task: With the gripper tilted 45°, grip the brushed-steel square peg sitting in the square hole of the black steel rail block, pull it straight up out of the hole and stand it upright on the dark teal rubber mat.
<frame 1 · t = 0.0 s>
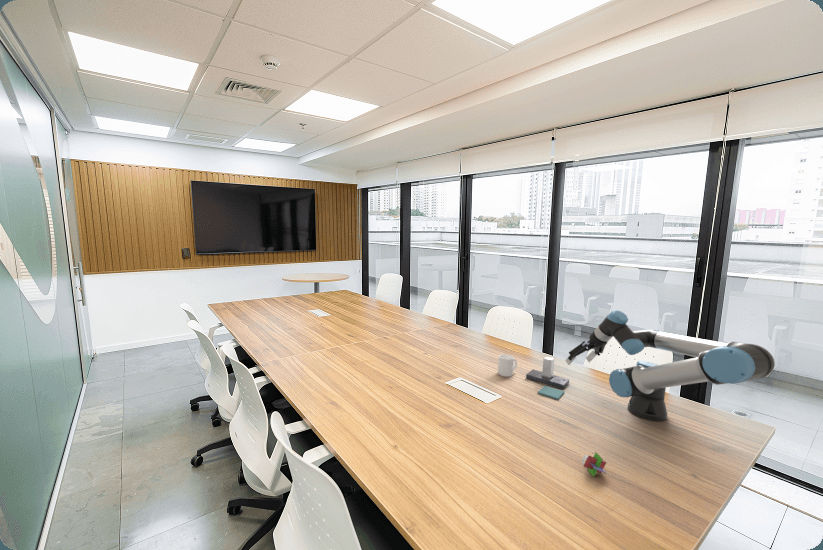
hand: (577, 361, 182), 15 cm above the table, tool tilted 35°, fingers open, 13 cm apart
geometric puzzle: (594, 473, 119), on the table
steel peg: (548, 369, 193), in the rail block
mug: (507, 374, 202), on the table
teal mat: (550, 393, 178), on the table
rail block: (547, 381, 194), on the table
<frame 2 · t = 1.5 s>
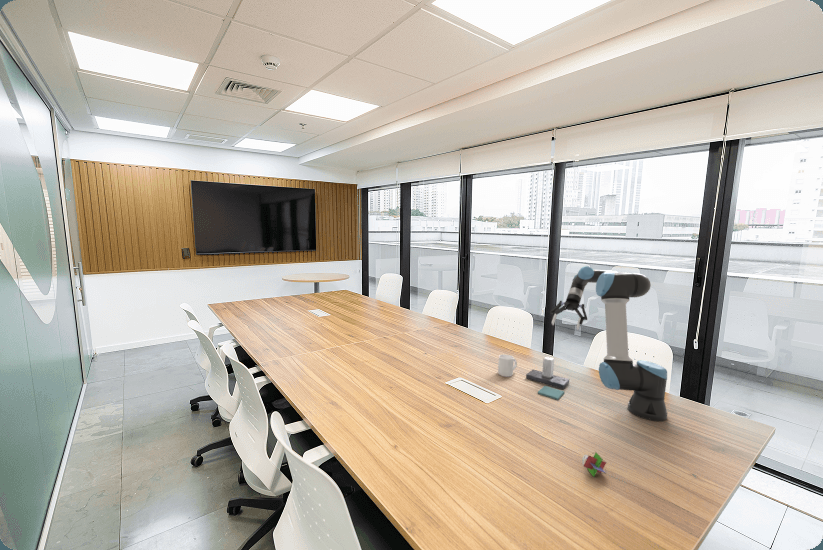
hand: (564, 326, 202), 28 cm above the table, tool tilted 45°, fingers open, 13 cm apart
nothing on the table moved.
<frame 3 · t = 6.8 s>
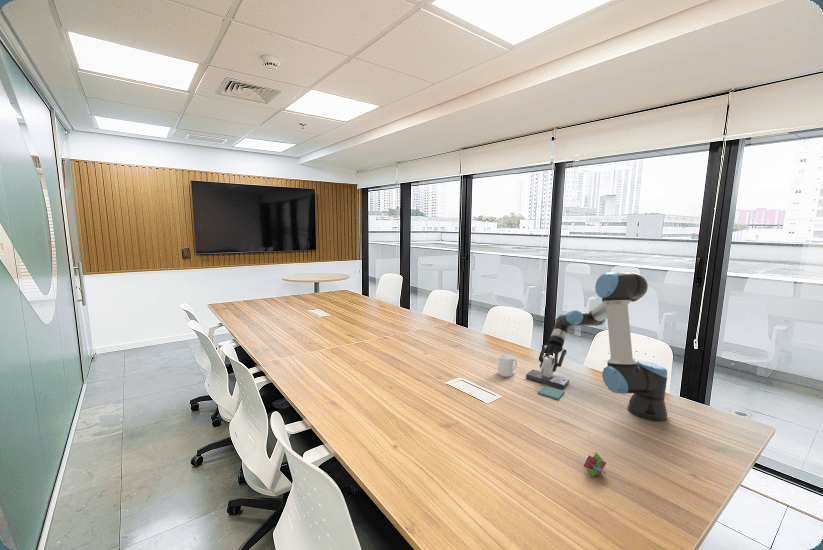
hand: (545, 374, 190), 5 cm above the table, tool tilted 45°, fingers closed on steel peg, 4 cm apart
steel peg: (548, 369, 193), in the rail block, touching gripper
everything else where it was.
when the fingers open (7 cm above the table, at t = 11.6 s): steel peg drops 1 cm, resting on teal mat.
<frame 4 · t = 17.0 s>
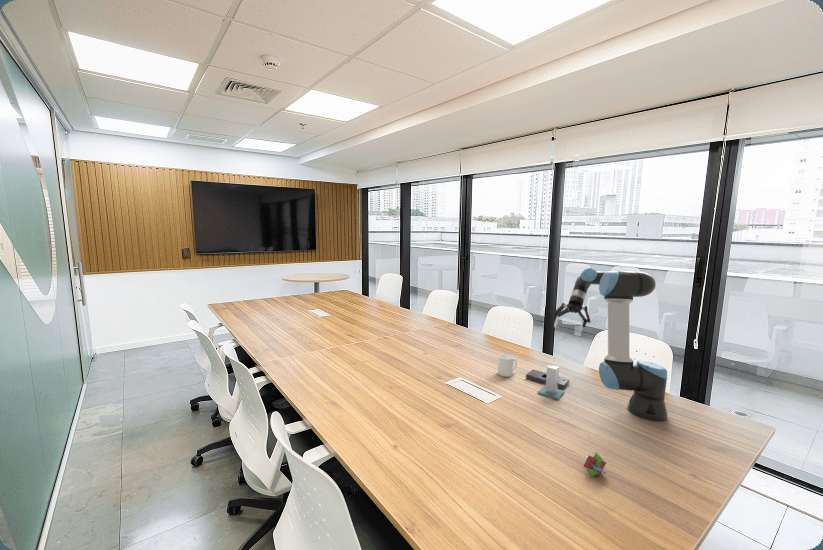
hand: (567, 328, 198), 28 cm above the table, tool tilted 45°, fingers open, 13 cm apart
steel peg: (552, 379, 177), on the teal mat, point 8 cm above the table
everything else where it was.
at the end: steel peg 0.1 cm off-centre on the teal mat, point 7.5 cm above the teal mat's base; steel peg tilted 0°; the gripper is holding nothing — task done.
